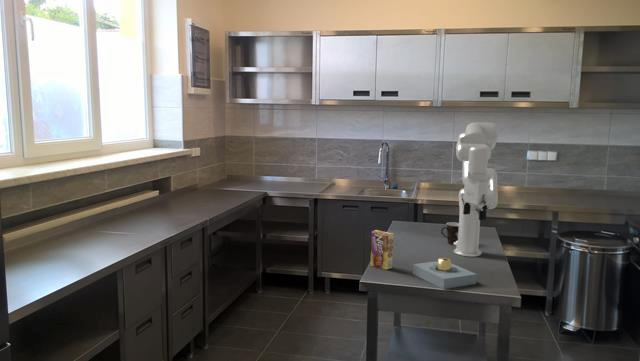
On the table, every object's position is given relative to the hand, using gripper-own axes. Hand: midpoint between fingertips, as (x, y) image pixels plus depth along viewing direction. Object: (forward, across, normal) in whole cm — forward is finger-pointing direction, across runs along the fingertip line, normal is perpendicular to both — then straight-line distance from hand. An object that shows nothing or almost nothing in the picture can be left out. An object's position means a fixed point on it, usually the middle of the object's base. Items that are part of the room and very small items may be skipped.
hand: (474, 216), depth 220 cm
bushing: (+23, +5, -18) cm, 29 cm away
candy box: (+24, -18, -33) cm, 45 cm away
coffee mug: (+26, -40, +21) cm, 52 cm away
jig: (+23, +5, -18) cm, 29 cm away
